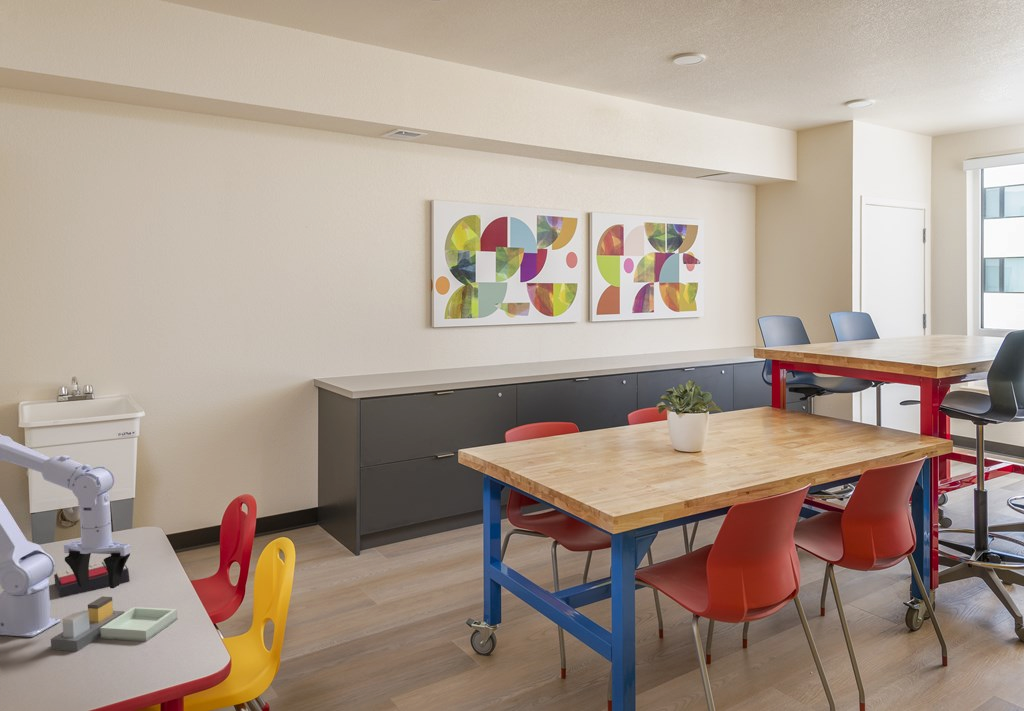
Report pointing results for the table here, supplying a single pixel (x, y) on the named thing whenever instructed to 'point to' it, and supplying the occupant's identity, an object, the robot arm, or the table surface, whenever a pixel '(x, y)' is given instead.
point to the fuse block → (82, 636)
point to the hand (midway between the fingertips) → (99, 585)
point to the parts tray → (139, 624)
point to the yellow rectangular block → (100, 609)
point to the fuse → (76, 624)
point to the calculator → (97, 579)
